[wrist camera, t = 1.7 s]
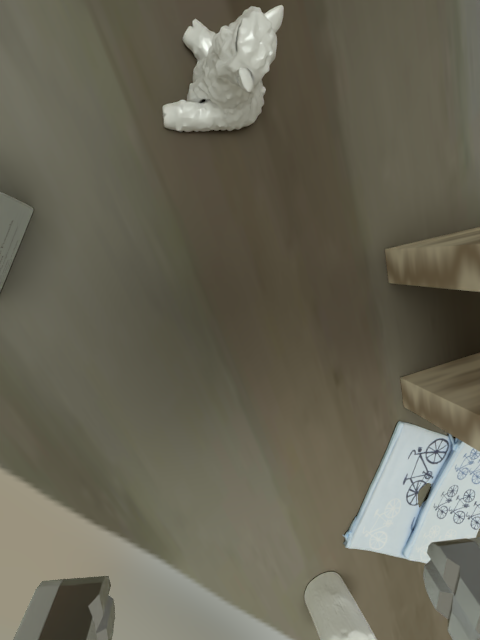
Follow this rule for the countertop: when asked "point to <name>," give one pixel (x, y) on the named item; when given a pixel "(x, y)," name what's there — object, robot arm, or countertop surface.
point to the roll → (335, 610)
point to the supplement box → (11, 230)
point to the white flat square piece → (402, 495)
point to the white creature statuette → (227, 73)
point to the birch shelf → (456, 376)
